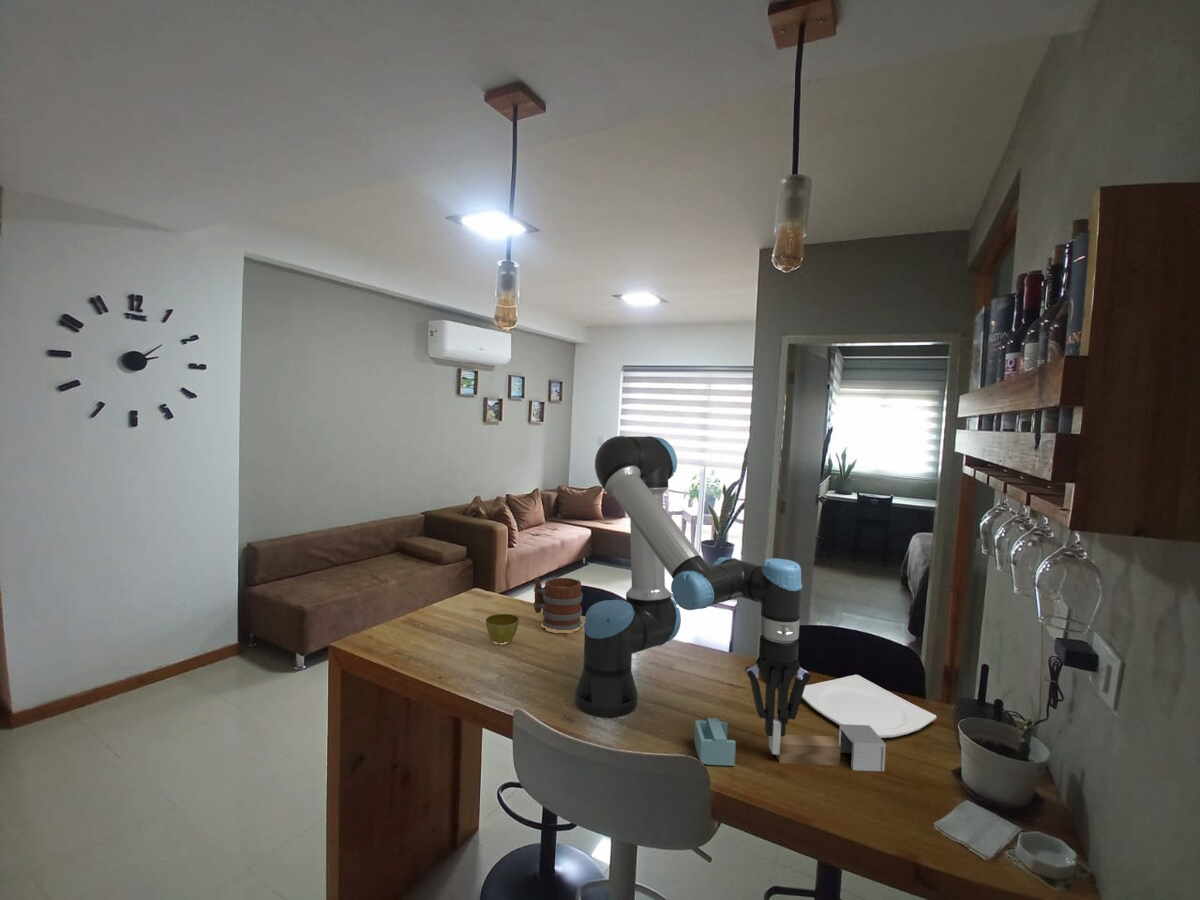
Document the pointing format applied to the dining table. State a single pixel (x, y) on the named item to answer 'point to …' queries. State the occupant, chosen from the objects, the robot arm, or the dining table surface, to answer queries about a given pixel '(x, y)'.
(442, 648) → the dining table surface
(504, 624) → the flower pot
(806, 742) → the batten
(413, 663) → the dining table surface
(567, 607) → the mug
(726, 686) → the dining table surface
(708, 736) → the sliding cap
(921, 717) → the plate
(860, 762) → the end cap
